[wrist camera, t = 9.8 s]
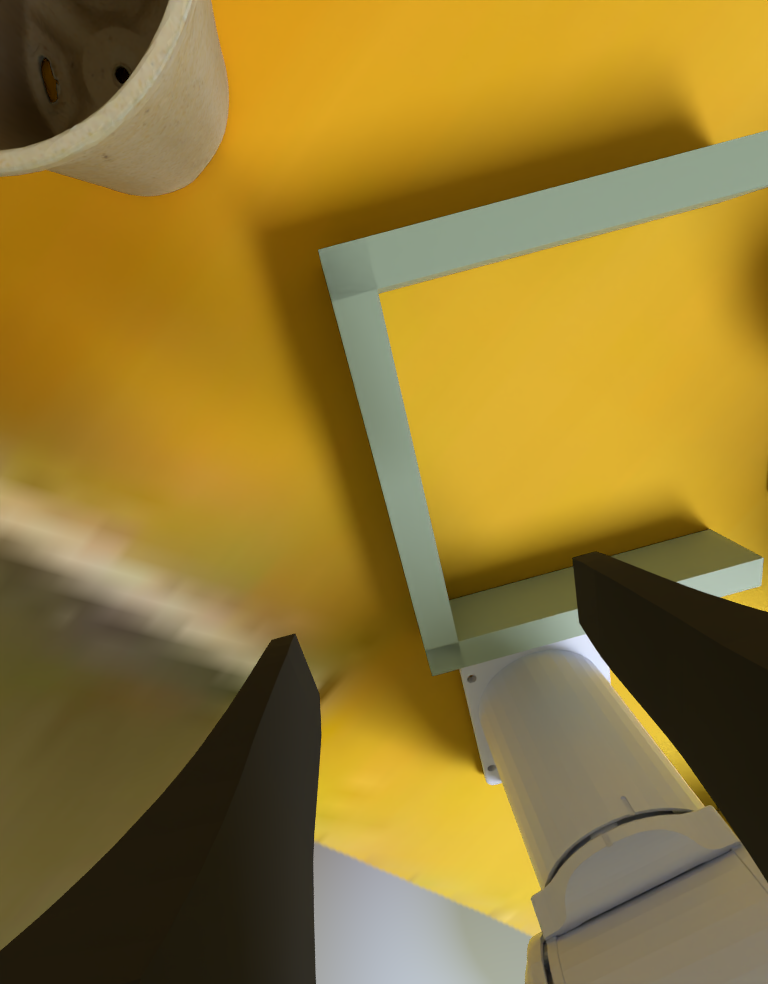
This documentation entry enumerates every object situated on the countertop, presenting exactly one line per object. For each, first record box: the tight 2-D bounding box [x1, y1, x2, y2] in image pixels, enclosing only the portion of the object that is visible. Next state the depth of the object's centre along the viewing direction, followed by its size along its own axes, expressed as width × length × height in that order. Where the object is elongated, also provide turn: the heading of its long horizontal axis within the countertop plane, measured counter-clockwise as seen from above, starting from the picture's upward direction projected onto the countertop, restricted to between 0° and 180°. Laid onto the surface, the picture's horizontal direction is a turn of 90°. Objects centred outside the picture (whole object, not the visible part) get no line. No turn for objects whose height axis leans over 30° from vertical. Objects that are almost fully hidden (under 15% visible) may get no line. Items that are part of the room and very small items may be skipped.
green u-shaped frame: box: [318, 131, 768, 676], centre depth 18 cm, size 18×16×3 cm
